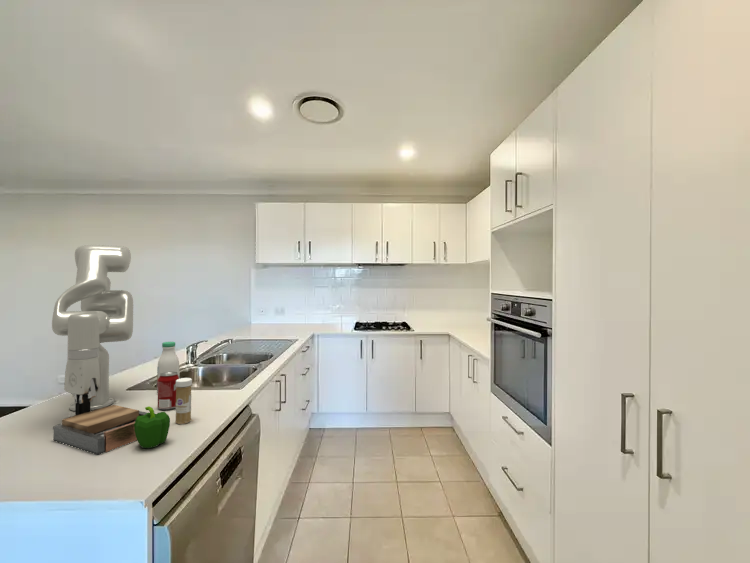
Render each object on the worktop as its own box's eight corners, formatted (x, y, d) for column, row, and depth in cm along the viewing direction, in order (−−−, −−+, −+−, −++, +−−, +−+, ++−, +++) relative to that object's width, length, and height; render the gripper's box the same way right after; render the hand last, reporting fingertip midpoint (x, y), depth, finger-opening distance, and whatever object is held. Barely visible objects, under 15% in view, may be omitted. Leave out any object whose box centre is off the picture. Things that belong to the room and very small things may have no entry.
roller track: (53, 440, 103) (53, 422, 103) (120, 419, 120) (120, 403, 120) (98, 455, 95) (98, 435, 95) (163, 429, 111) (163, 413, 111)
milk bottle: (183, 391, 151) (184, 341, 151) (167, 396, 143) (167, 344, 143) (169, 389, 153) (169, 340, 153) (152, 394, 146) (152, 343, 146)
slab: (61, 428, 105) (61, 419, 105) (113, 412, 118) (113, 404, 118) (87, 435, 100) (87, 426, 100) (138, 418, 113) (138, 410, 113)
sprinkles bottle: (173, 424, 115) (173, 381, 115) (178, 419, 120) (178, 377, 120) (189, 424, 116) (189, 380, 116) (193, 418, 121) (193, 377, 121)
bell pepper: (173, 445, 101) (173, 408, 101) (137, 454, 96) (138, 415, 96) (165, 435, 108) (166, 400, 108) (131, 443, 102) (132, 406, 102)
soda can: (169, 411, 127) (170, 376, 127) (152, 410, 128) (153, 375, 128) (183, 405, 134) (184, 371, 134) (167, 403, 135) (167, 370, 135)
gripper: (54, 354, 112) (54, 415, 112) (84, 358, 106) (83, 423, 106) (82, 350, 119) (82, 408, 119) (112, 354, 113) (111, 415, 113)
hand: (82, 415), depth 113 cm, fingers closed
